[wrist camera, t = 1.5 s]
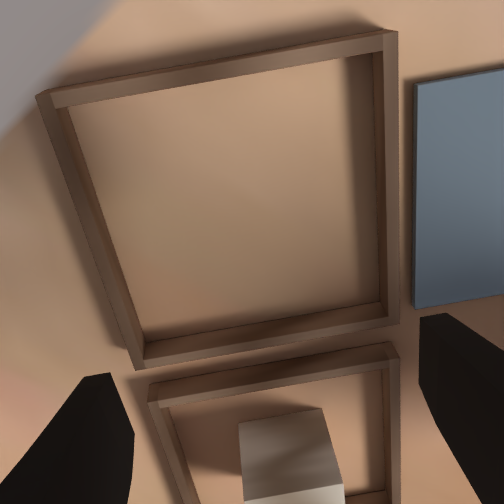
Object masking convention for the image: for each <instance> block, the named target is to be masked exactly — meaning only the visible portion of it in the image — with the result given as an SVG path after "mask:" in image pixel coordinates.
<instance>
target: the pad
mask: <svg viewBox="0 0 504 504" xmlns="http://www.w3.org/2000/svg"><path fill="white" fill-rule="evenodd" d="M500 294H504V68H500V69H494V70H489V71H483V72H477V73H472V74H466V75H461V76H455V77H449V78H444V79H438V80H432V81H427V82H421V83H416V84H414V106H413V215H412V306H413V307H414V309H415V310H416V309H421V308H427V307H433V306H438V305H444V304H450V303H455V302H461V301H467V300H472V299H478V298H484V297H489V296H495V295H500Z"/></svg>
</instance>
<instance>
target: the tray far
mask: <svg viewBox="0 0 504 504" xmlns="http://www.w3.org/2000/svg"><path fill="white" fill-rule="evenodd" d="M380 369H382V388H383V420H384V453H385V486H386V490H383V491H378V492H372V493H366V494H361V495H355V496H350V497H345V504H401V441H400V357H399V355H398V353H397V351H396V349H395V348H394V346H393V344H392V342H386V343H380V344H374V345H369V346H363V347H357V348H352V349H346V350H340V351H335V352H329V353H324V354H318V355H312V356H307V357H301V358H295V359H290V360H284V361H278V362H273V363H267V364H261V365H256V366H250V367H244V368H239V369H233V370H228V371H222V372H216V373H211V374H205V375H199V376H194V377H188V378H182V379H177V380H171V381H165V382H160V383H154V384H150V385H149V392H148V398H147V404H148V407H149V410H150V413H151V415H152V418H153V421H154V424H155V426H156V429H157V432H158V435H159V437H160V440H161V443H162V446H163V448H164V451H165V454H166V456H167V459H168V462H169V465H170V467H171V470H172V473H173V476H174V478H175V481H176V484H177V487H178V489H179V492H180V495H181V497H182V500H183V503H184V504H201V503H200V500H199V497H198V494H197V492H196V489H195V486H194V483H193V480H192V477H191V474H190V471H189V468H188V465H187V462H186V459H185V456H184V453H183V450H182V447H181V444H180V441H179V438H178V435H177V432H176V429H175V426H174V423H173V420H172V417H171V414H170V412H169V409H168V407H171V406H177V405H182V404H188V403H193V402H199V401H205V400H210V399H216V398H222V397H227V396H233V395H239V394H244V393H250V392H256V391H261V390H267V389H273V388H278V387H284V386H289V385H295V384H301V383H306V382H312V381H318V380H323V379H329V378H335V377H340V376H346V375H352V374H357V373H363V372H369V371H374V370H380Z"/></svg>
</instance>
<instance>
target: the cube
mask: <svg viewBox="0 0 504 504" xmlns="http://www.w3.org/2000/svg"><path fill="white" fill-rule="evenodd" d="M238 430H239V443H240V456H241V470H242V483H243V496H244V504H345V496H344V486H343V481H342V477H341V474H340V470H339V467H338V463H337V460H336V456H335V453H334V449H333V446H332V442H331V439H330V435H329V432H328V428H327V424H326V421H325V417H324V414H323V410H322V408H321V409H315V410H310V411H304V412H298V413H293V414H287V415H281V416H276V417H270V418H264V419H259V420H253V421H247V422H242V423H238Z"/></svg>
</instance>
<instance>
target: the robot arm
mask: <svg viewBox="0 0 504 504" xmlns="http://www.w3.org/2000/svg"><path fill="white" fill-rule="evenodd" d="M419 385H420V388H421V390H422V393H423V395H424V398H425V400H426V402H427V405H428V407H429V409H430V412H431V414H432V416H433V418H434V421H435V423H436V425H437V427H438V428H439V430H440V432H441V434H442V436H443V437H444V439H445V441H446V443H447V444H448V446H449V448H450V450H451V451H452V453H453V455H454V457H455V458H456V460H457V462H458V463H459V465H460V467H461V469H462V470H463V472H464V474H465V475H466V477H467V479H468V481H469V482H470V484H471V486H472V488H473V489H474V491H475V493H476V494H477V496H478V498H479V500H480V501H481V503H482V504H504V351H503V350H501V349H500V348H498V347H497V346H495V345H494V344H492V343H491V342H489V341H488V340H486V339H485V338H483V337H482V336H480V335H479V334H477V333H476V332H474V331H473V330H471V329H470V328H469V327H467V326H466V325H464V324H463V323H461V322H460V321H458V320H457V319H455V318H454V317H452V316H451V315H449V314H447V313H442V314H436V315H430V316H425V317H420V336H419ZM134 437H135V433H134V431H133V428H132V426H131V423H130V421H129V418H128V416H127V413H126V411H125V408H124V406H123V403H122V401H121V398H120V396H119V393H118V391H117V388H116V386H115V383H114V381H113V378H112V376H111V373H110V372H109V373H103V374H97V375H92V376H86V377H84V378H83V379H82V380H81V381H80V383H79V384H78V385H77V387H76V388H75V389H74V391H73V392H72V393H71V395H70V396H69V397H68V399H67V400H66V401H65V403H64V404H63V405H62V407H61V408H60V409H59V411H58V412H57V413H56V415H55V416H54V417H53V419H52V420H51V421H50V423H49V424H48V425H47V427H46V428H45V429H44V430H43V432H42V433H41V434H40V436H39V437H38V438H37V439H36V441H35V442H34V443H33V445H32V446H31V447H30V448H29V450H28V451H27V452H26V454H25V455H24V456H23V457H22V459H21V460H20V461H19V462H18V463H17V465H16V466H15V467H14V468H13V469H12V470H11V472H10V473H9V474H8V475H7V476H6V478H5V479H4V480H3V481H2V482H1V484H0V504H127V502H128V497H129V491H130V485H131V480H132V469H133V456H134Z"/></svg>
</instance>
